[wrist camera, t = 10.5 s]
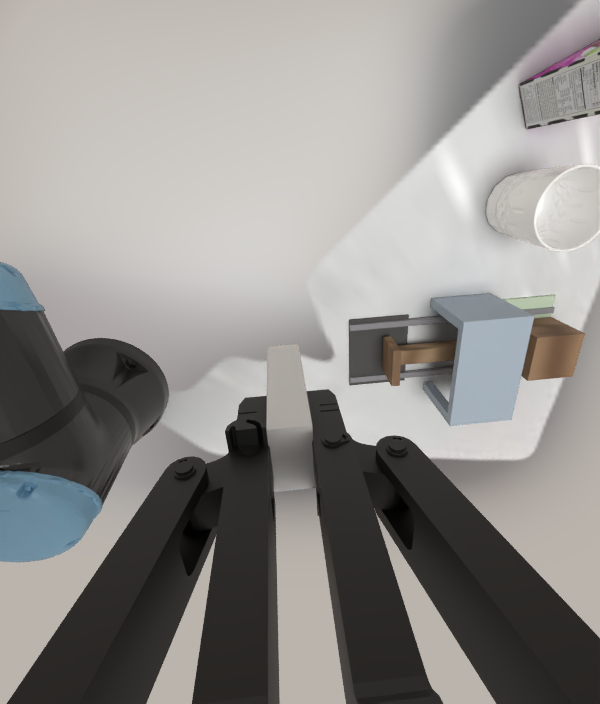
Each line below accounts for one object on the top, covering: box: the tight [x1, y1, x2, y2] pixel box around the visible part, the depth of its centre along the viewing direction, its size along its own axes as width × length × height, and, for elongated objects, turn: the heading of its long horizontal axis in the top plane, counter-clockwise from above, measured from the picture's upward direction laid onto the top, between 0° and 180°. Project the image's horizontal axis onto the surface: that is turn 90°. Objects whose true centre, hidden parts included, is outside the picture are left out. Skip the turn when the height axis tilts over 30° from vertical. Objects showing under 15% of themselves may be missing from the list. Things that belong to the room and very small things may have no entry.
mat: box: [502, 295, 556, 319], centre depth 52 cm, size 8×12×1 cm, turn 4°
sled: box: [382, 317, 585, 386], centre depth 49 cm, size 24×6×6 cm, turn 94°
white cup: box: [486, 164, 600, 252], centre depth 40 cm, size 8×8×10 cm
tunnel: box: [349, 293, 554, 426], centre depth 48 cm, size 28×14×9 cm, turn 94°
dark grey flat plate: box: [349, 315, 409, 385], centre depth 51 cm, size 8×10×1 cm
